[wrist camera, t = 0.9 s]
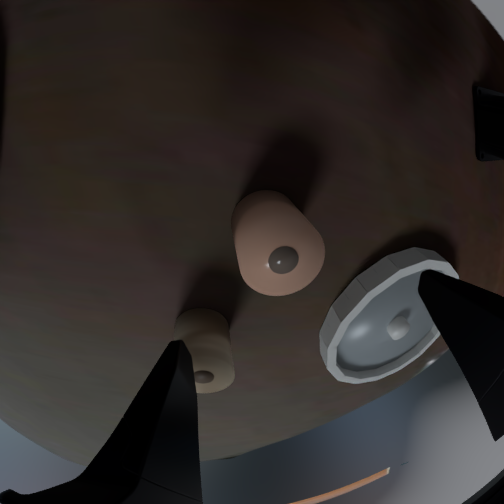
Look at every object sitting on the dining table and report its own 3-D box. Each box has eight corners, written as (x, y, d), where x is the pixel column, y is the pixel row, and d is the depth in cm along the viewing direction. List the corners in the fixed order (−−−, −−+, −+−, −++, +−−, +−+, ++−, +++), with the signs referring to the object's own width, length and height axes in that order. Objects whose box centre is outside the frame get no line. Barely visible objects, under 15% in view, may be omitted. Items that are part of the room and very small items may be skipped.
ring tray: (458, 232, 19) (472, 242, 17) (429, 339, 26) (437, 350, 24) (316, 276, 19) (326, 293, 17) (320, 384, 26) (326, 398, 24)
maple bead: (220, 302, 19) (225, 352, 15) (234, 340, 20) (241, 387, 17) (166, 314, 18) (160, 363, 14) (185, 350, 20) (185, 397, 16)
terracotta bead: (292, 183, 15) (322, 210, 11) (300, 243, 17) (327, 284, 13) (223, 199, 15) (229, 231, 11) (239, 258, 17) (249, 305, 13)
